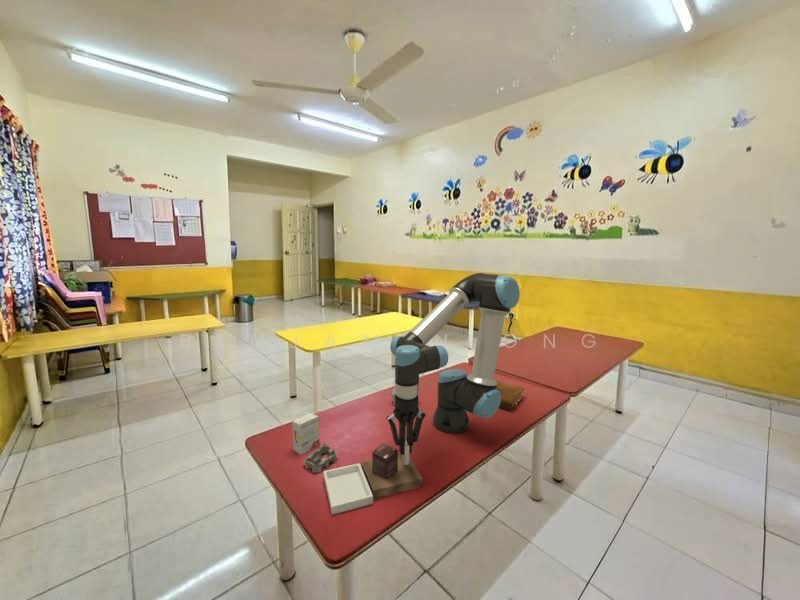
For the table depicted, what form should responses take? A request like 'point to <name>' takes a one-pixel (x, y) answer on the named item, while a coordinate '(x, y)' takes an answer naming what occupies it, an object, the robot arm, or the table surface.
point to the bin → (347, 488)
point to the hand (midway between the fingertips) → (405, 462)
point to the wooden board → (392, 479)
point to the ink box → (305, 433)
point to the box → (384, 461)
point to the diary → (509, 395)
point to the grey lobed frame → (317, 460)
